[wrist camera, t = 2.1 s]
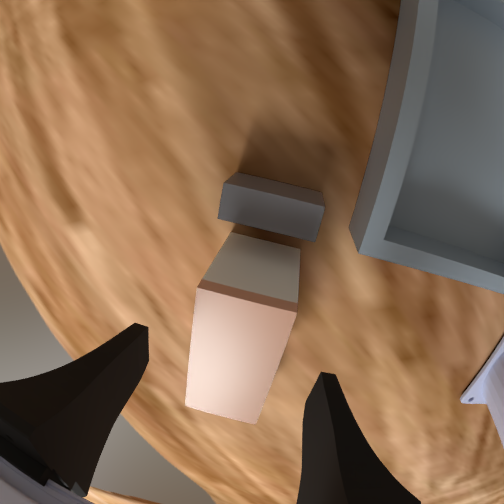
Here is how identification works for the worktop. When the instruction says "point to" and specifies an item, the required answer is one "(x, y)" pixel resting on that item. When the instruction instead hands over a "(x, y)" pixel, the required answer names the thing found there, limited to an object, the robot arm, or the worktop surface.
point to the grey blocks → (272, 206)
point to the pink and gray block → (241, 326)
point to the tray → (440, 146)
